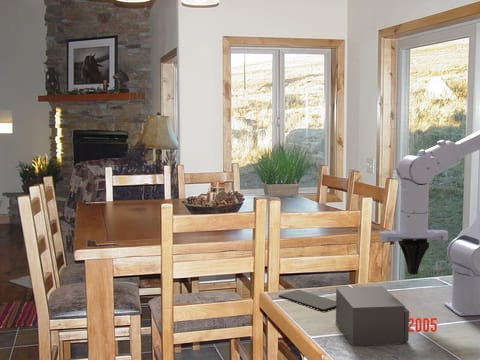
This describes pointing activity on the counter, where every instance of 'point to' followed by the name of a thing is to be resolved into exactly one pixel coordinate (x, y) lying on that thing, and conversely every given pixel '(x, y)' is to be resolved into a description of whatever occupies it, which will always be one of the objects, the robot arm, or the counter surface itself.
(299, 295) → the smartphone
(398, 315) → the dark grey cuboid box
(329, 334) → the counter surface
